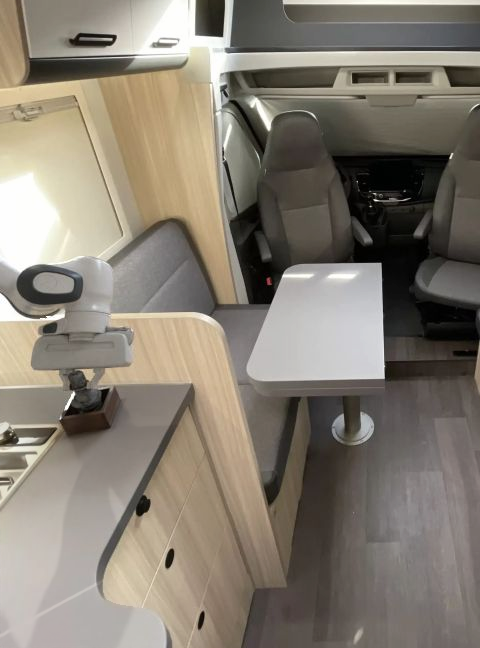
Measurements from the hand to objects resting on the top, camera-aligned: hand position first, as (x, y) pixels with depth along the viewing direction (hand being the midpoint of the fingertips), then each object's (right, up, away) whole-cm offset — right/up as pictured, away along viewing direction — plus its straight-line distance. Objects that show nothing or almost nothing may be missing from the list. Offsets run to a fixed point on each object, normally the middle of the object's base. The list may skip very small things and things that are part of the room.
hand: (79, 390), depth 96 cm
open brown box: (0, -7, +5) cm, 9 cm away
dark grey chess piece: (0, -5, +4) cm, 7 cm away
